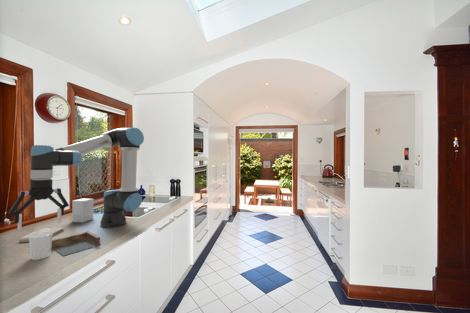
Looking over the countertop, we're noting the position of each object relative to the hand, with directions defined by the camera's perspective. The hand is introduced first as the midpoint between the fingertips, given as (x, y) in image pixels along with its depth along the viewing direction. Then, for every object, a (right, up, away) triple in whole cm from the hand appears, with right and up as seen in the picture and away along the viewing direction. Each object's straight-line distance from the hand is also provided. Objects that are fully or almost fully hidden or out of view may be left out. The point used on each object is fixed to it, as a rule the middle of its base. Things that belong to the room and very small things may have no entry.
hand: (40, 225), depth 97 cm
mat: (+9, -14, +9) cm, 19 cm away
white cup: (0, -14, 0) cm, 14 cm away
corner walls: (+8, -14, +11) cm, 19 cm away
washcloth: (-21, -15, +25) cm, 35 cm away
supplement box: (-19, -14, +54) cm, 59 cm away
